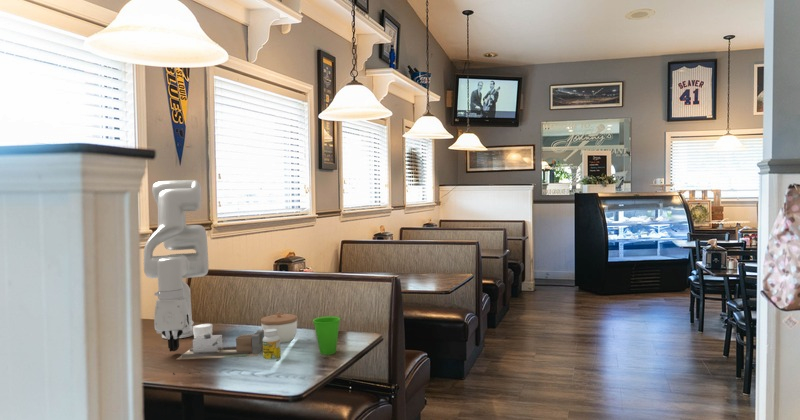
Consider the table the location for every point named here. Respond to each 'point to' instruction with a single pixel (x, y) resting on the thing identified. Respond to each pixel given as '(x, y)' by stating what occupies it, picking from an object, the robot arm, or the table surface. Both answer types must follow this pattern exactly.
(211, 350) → the knobbed grey slider
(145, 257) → the robot arm
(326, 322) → the cup
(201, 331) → the shot glass
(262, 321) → the lidded bowl
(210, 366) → the table surface
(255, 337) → the gauge bed
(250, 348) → the walnut block
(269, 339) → the supplement bottle
